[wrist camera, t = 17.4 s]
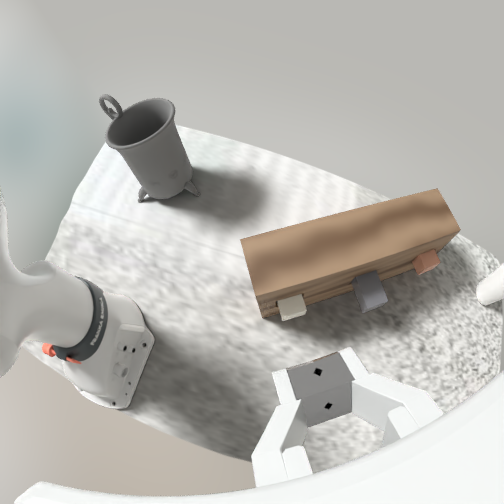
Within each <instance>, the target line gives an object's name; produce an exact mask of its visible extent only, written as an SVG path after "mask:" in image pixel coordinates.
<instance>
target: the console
mask: <svg viewBox="0 0 504 504" xmlns="http://www.w3.org/2000/svg"><path fill="white" fill-rule="evenodd" d="M459 231H460V228H459V226H458V224H457V222H456V220H455V218H454V216H453V214H452V213H451V211H450V209H449V207H448V206H447V204H446V202H445V200H444V199H443V197H442V195H441V194H440V192H439V190H438V189H433V190H429V191H425V192H421V193H417V194H413V195H409V196H405V197H400V198H396V199H392V200H388V201H384V202H381V203H377V204H373V205H369V206H365V207H361V208H357V209H353V210H349V211H345V212H341V213H338V214H334V215H330V216H326V217H322V218H318V219H315V220H311V221H307V222H303V223H300V224H296V225H292V226H288V227H285V228H281V229H277V230H273V231H270V232H266V233H262V234H259V235H255V236H251V237H248V238H244V239H240V241H241V244H242V248H243V252H244V255H245V259H246V263H247V267H248V270H249V274H250V278H251V281H252V285H253V289H254V292H255V296H256V299H257V302H258V306H259V309H260V312H261V315H262V318H265V317H269V316H272V315H276V314H279V313H280V311H279V308H278V304H277V301H278V300H282V299H285V298H289V297H292V296H296V295H299V294H302V297H303V300H304V303H305V306H306V305H310V304H313V303H316V302H319V301H323V300H326V299H329V298H332V297H335V296H338V295H341V294H344V293H347V292H350V291H353V290H354V289H353V286H352V283H351V282H352V280H353V279H354V277H357V276H360V275H363V274H366V273H369V272H372V271H375V270H376V271H377V273H378V276H379V278H380V281H382V280H385V279H388V278H390V277H393V276H396V275H398V274H401V273H404V272H406V271H409V270H412V269H414V268H415V267H414V265H413V263H412V261H413V260H414V259H415V258H416V257H417V256H418V255H420V254H422V253H425V252H428V251H430V250H433V249H435V251H436V254H437V253H438V252H439V251H440V250H441V249H442V248H443V247H444V246H445V245H446V244H447V243H448V242H449V241H450V240H451V239H452V238H453V237H454V236H455V235H456V234H457V233H458V232H459Z"/></svg>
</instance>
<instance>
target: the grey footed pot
mask: <svg viewBox="0 0 504 504" xmlns="http://www.w3.org/2000/svg"><path fill="white" fill-rule="evenodd" d="M104 99H105V100H108V101H109V102H110V103H112V104H113V105H114V107H115V108H116V110H117V112H118V114H117V113H116V112H114V111H113V110H112V108H109V109H108V107H107V106H106V105H105V102H104ZM99 102H100V105H101V107H102V109H103V110H104V112H105V113H106V114H107V115H108V116H109V117H110V118H111V119H112V120H113V121H112V122H111V124H110V125H109V127H108V129H107V132H106V136H105V139H106V143H107V144H108V146H109V147H111V148H113V149H116V150H117V151H118V152H119V153H120V154H121V155H122V157H123V158H124V160H125V161H126V163H127V164H128V166H129V167H130V169H131V170H132V172H133V173H134V175H135V176H136V178H137V180H138V181H139V183H140V184H141V186H142V187H141V189H140V190H139V199H138V202H141V201H142V200H143V199H144V196H145V195H146V194H148V195H149V196H150V197H152V198H155V199H166V198H170V197H173V196H175V195H177V194H178V193H180V192H181V191H183V190H184V189H186V190H187V191H189V192H191V193H193V194H194V195H196V196H200V193H199V192H198V191H197V189H196V187H195V186H194V184H193V183H192V182H190V181H191V178H192V174H193V170H192V166H191V164H190V161H189V159H188V157H187V154H186V152H185V149H184V147H183V144H182V142H181V139H180V137H179V134H178V132H177V129H176V126H175V123H174V115H175V107H174V105H173V104H172V102H170V101H169V100H166V99H162V98H152V99H147V100H144V101H141V102H138V103H136V104H134V105H132V106H130V107H128V108H127V109H125V110H124V111H122V108H121V106H120V105H119V103H118V102H117V101H116V100H115V99H114V98H113V97H111V96H109V95H106V94H105V95H102V96H101V97H100V99H99Z"/></svg>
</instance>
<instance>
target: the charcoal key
mask: <svg viewBox="0 0 504 504" xmlns="http://www.w3.org/2000/svg"><path fill="white" fill-rule="evenodd" d="M351 283H352V286H353V289H354V292H355V294H356V297H357V300H358V303H359V305H360V308H361V311H362V313H365V312H367V311H370V310H373V309H375V308H378V307H381V306H383V305H384V304H385V303H386V302H388V299H387V296H386V294H385V291H384V288H383V286H382V283H381V281H380V278H379V276H378V273H377V271H376V270H375V271H372V272H369V273H366V274H363V275H360V276H357V277H354V279H353V280H352V282H351Z"/></svg>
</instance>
